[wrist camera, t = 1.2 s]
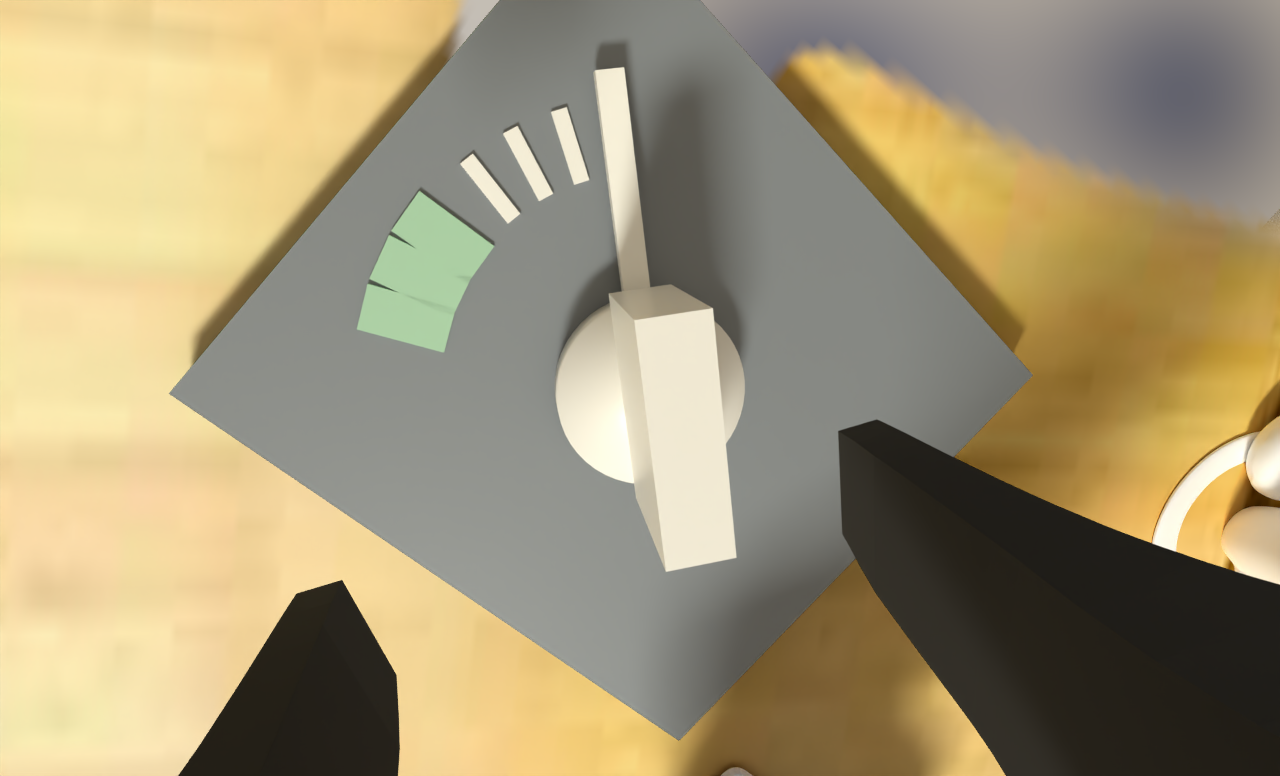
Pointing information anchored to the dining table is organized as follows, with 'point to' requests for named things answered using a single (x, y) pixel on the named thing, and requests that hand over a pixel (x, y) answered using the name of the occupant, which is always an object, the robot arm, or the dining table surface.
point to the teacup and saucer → (1254, 535)
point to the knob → (653, 378)
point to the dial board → (556, 305)
